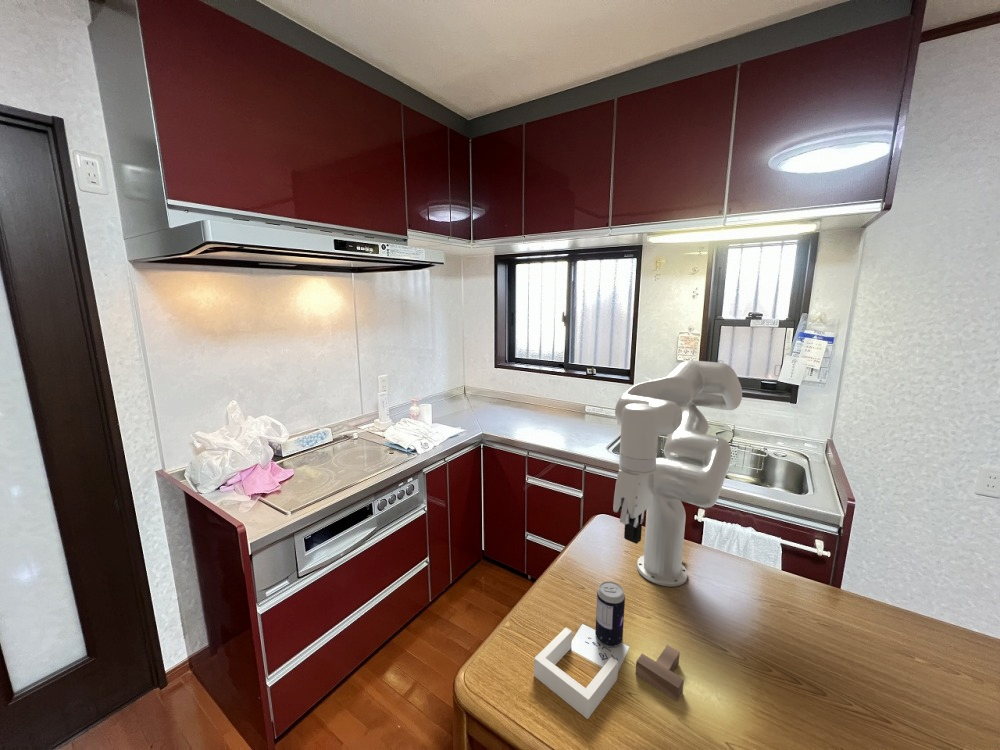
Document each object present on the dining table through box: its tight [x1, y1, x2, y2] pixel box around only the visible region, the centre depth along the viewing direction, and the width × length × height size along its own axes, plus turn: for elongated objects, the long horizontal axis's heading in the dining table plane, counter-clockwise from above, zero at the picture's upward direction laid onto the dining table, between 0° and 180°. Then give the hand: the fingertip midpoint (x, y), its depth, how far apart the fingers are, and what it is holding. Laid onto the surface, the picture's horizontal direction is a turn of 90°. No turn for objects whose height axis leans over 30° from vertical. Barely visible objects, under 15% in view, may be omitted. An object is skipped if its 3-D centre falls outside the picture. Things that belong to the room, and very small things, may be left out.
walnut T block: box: [635, 644, 685, 703], centre depth 78 cm, size 8×8×3 cm
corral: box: [533, 626, 619, 720], centre depth 78 cm, size 10×12×4 cm
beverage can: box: [594, 580, 626, 648], centre depth 86 cm, size 6×6×12 cm
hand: (632, 539), depth 90 cm, fingers closed
